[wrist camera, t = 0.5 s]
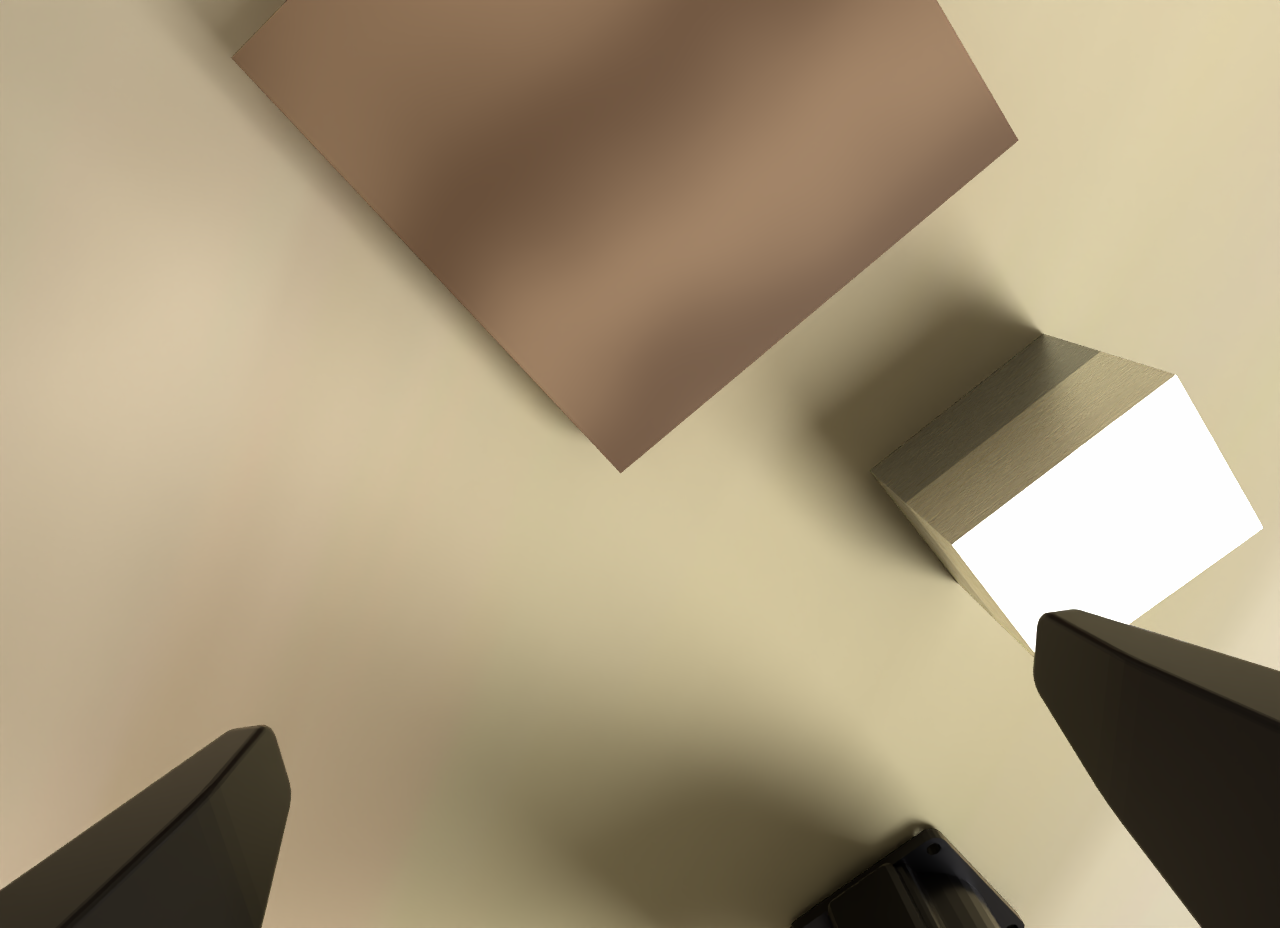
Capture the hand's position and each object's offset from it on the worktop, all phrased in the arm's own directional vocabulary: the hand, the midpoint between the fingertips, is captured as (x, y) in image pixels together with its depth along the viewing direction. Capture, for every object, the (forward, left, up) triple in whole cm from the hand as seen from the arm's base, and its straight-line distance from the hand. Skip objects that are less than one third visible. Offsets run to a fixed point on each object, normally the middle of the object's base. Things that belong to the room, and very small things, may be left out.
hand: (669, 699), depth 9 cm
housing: (-9, -8, -13) cm, 17 cm away
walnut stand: (+5, -6, -13) cm, 15 cm away
